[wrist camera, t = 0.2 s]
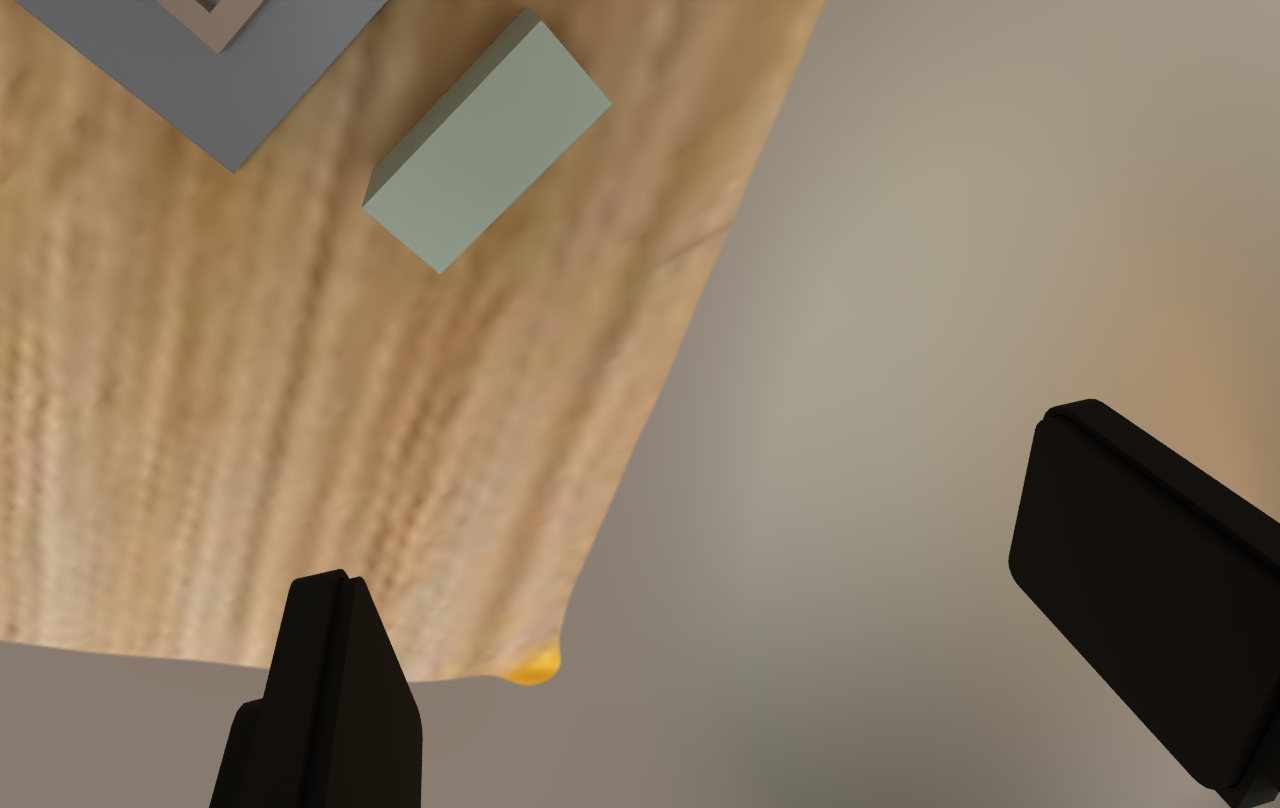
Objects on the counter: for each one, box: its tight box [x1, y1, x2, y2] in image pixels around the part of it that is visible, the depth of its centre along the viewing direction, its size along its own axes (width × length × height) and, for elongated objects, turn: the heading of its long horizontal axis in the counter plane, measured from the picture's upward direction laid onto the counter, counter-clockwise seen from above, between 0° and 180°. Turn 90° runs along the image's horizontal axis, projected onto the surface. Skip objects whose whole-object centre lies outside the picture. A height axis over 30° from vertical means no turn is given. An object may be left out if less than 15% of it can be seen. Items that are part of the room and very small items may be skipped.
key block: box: [362, 7, 612, 274], centre depth 32 cm, size 10×4×6 cm, turn 130°
